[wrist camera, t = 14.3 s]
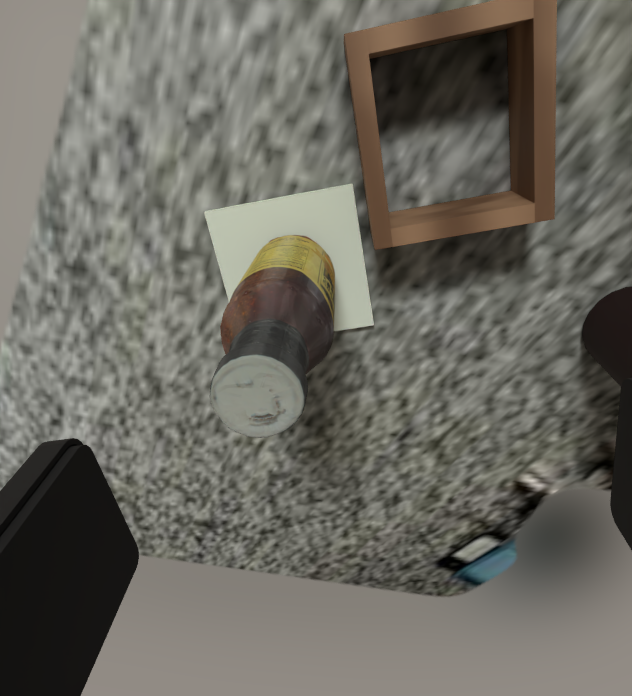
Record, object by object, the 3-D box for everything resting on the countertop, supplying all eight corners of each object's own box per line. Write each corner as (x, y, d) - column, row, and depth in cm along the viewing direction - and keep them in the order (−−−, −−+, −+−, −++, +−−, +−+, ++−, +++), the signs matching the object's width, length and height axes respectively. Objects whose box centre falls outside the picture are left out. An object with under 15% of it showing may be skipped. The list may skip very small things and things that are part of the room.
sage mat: (352, 183, 37) (352, 184, 36) (373, 322, 41) (374, 325, 41) (205, 210, 38) (204, 212, 38) (242, 342, 43) (241, 345, 42)
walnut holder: (526, 2, 32) (556, -14, 27) (528, 204, 37) (554, 219, 32) (343, 42, 33) (344, 33, 29) (370, 232, 38) (374, 250, 34)
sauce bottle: (320, 318, 41) (303, 488, 23) (245, 294, 40) (167, 449, 22) (348, 241, 38) (352, 366, 20) (267, 213, 38) (199, 318, 20)
